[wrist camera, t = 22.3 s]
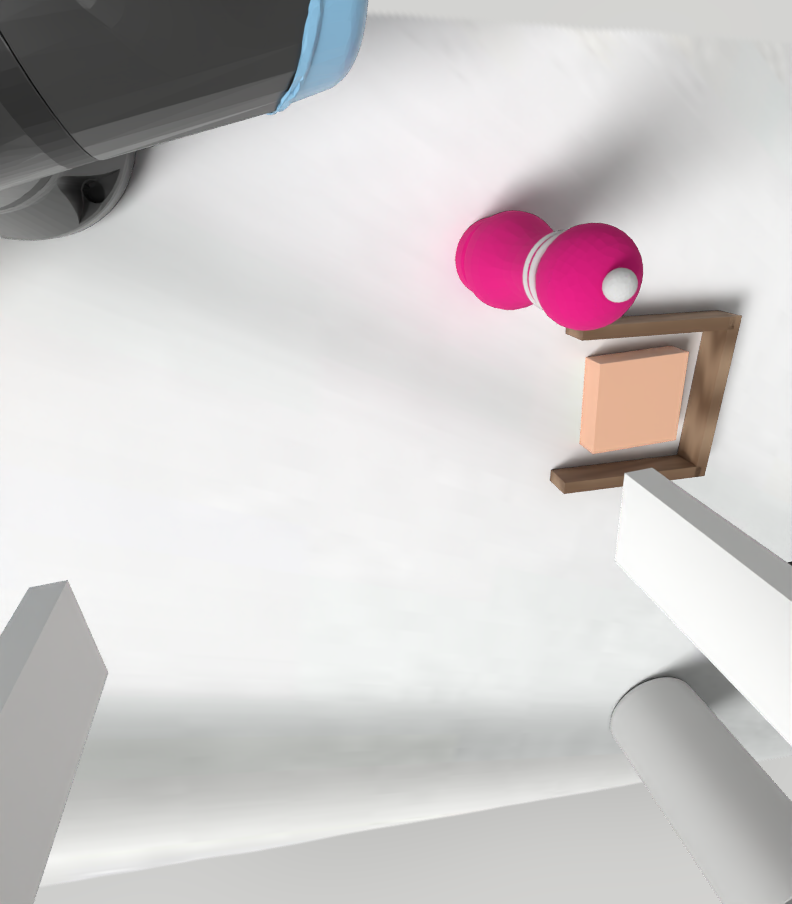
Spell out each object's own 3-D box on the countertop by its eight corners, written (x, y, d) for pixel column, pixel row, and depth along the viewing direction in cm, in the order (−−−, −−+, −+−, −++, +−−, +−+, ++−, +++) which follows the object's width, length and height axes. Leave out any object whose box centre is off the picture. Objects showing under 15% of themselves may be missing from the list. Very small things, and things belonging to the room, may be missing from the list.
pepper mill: (493, 317, 48) (624, 381, 31) (431, 266, 46) (537, 303, 28) (546, 247, 47) (717, 271, 29) (486, 190, 44) (635, 177, 26)
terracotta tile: (583, 356, 52) (600, 364, 50) (668, 344, 54) (689, 351, 51) (577, 442, 56) (593, 454, 54) (656, 429, 58) (675, 440, 55)
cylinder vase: (686, 725, 79) (850, 929, 57) (606, 751, 78) (743, 971, 55) (693, 663, 74) (877, 861, 52) (607, 689, 72) (759, 905, 50)
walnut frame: (566, 320, 50) (583, 326, 47) (718, 310, 53) (742, 315, 50) (550, 480, 57) (563, 493, 54) (684, 463, 60) (704, 475, 57)
